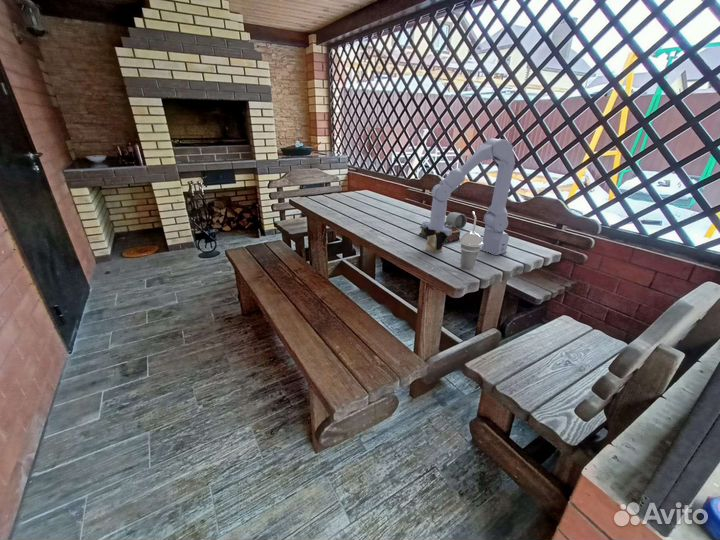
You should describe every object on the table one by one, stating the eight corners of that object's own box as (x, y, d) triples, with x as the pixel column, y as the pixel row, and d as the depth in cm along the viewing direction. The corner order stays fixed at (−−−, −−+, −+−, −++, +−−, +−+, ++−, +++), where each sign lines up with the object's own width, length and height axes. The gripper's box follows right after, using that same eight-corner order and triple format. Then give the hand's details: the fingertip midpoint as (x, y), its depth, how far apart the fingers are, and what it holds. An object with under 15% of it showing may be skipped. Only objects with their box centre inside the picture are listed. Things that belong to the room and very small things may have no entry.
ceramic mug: (455, 224, 173) (457, 209, 170) (465, 228, 166) (468, 213, 163) (438, 226, 169) (440, 212, 166) (448, 231, 162) (450, 216, 159)
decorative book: (437, 231, 161) (438, 222, 159) (461, 241, 149) (463, 231, 146) (419, 235, 156) (420, 225, 154) (442, 245, 143) (443, 234, 141)
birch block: (441, 251, 137) (443, 237, 134) (433, 253, 134) (435, 239, 132) (433, 247, 140) (435, 234, 138) (426, 249, 138) (427, 236, 135)
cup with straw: (451, 268, 121) (459, 215, 112) (459, 260, 127) (467, 210, 119) (475, 274, 116) (485, 219, 108) (482, 266, 123) (492, 213, 115)
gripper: (418, 212, 134) (415, 243, 140) (444, 221, 123) (440, 254, 129) (430, 210, 138) (427, 240, 144) (457, 218, 127) (452, 251, 133)
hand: (434, 247), depth 137 cm, fingers closed on birch block, 4 cm apart
